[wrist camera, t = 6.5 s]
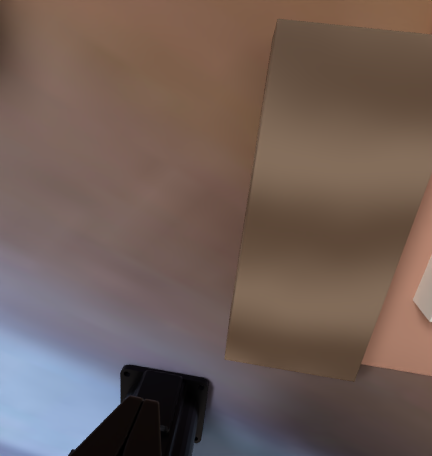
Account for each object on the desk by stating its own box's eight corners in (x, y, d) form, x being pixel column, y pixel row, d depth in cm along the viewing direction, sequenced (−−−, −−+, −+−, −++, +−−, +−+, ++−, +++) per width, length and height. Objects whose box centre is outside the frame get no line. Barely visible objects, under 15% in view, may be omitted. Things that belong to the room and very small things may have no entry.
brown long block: (337, 331, 21) (354, 381, 17) (229, 314, 21) (224, 359, 18) (425, 53, 15) (480, 39, 11) (272, 37, 15) (277, 18, 12)
